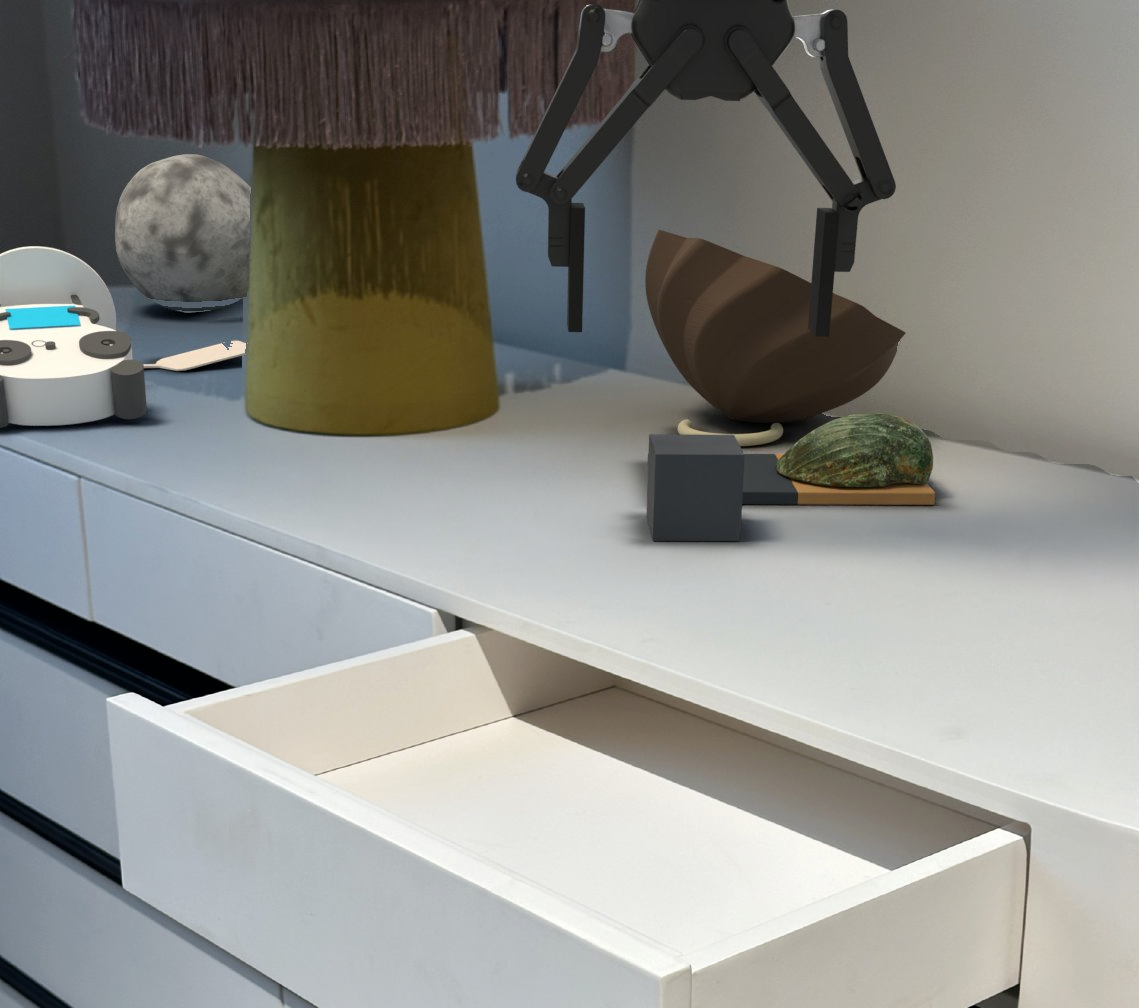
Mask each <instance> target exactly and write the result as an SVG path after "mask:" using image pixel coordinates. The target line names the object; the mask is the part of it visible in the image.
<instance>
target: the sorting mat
mask: <svg viewBox="0 0 1139 1008" xmlns="http://www.w3.org/2000/svg"><path fill="white" fill-rule="evenodd" d="M784 454H785V453H776V454H775V453H744V455H745V460H744V478H743V497H742V505H827V506H829V505H830V506H831V505H834V506H835V505H840V506H841V505H842V506H843V505H844V506H845V505H846V506H847V505H850V506H851V505H852V506H853V505H855V506H858V505H861V506H863V505H865V506H866V505H868V506H869V505H870V506H875V505H876V506H879V505H880V506H934V505H935V501H936V492H935V491H934V489H933V488H931V486H930V485H929V484H928V482H927V483H926V484H924V485H916V484H911V483H898V484H890V485H887V486H884V487H878V486H876V487H845V486H828V485H819V484H813V483H809V482H804V481H800V480H796V479H792V478H789V477H787V476H785V475H782V474H780V473H779V472H777V470H776V469H775V468H776V463H777V461H778V460H779V459H780V458H781V457H782V456H783V455H784Z"/></svg>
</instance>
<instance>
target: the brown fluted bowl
mask: <svg viewBox="0 0 1139 1008" xmlns="http://www.w3.org/2000/svg"><path fill="white" fill-rule="evenodd" d="M645 266H646V267H645V275H644V276H645V278H644V283H645V284H644V285H645V286H644V287H645V296H646V301H647V306H648V310H649V312H650V313H649V314H650V317H651V319H652V322H653V325H654V328H655V329H656V332H657V334H658V336H659V339H660V341H661V343H662V345H663V347H664V349H665V350H666V352H667V354H668V356H669V358H670V359H671V361H672V363H673V364H674V366H675V367H676V369H677V371H678V372H679V374H680V375H681V376H682V377H683V378H684V380H685V381H686V382H687V383H688V385H690V386H691V388H692V389H693V390H694V391H695V392H696V393H697V394H698V395H699V396H701V397H702V398H703V399H704V400H705V401H706V402H707V403H709V404H710V405H711V406H712V407H714V408H715V409H716V410H718V411H719V412H720V413H722V414H723V415H725V416H726V417H727V418H728V419H730V420H736V421H740V422H741V421H742V422H747V423H755V424H774V423H779V424H787V423H794V422H799V421H803V420H806V419H809V418H812V417H816V416H817V415H820V414H823V413H826V412H829V411H832V410H835V409H837V408H840V407H842V406H844V405H846V404H848V403H851V402H852V401H854V400H856V399H858V398H859V397H861V396H863V395H864V394H866V393H868V392H869V391H870V390H872V389H873V388H874V387H875V386H876V385H877V384H879V383H880V381H881V380H882V379H883V378H884V376H885V375H886V374H887V372H888V371H889V370H890V368H891V366H892V364H893V362H894V359H895V357H896V355H897V353H898V350H897V346H898V342H899V341H900V340H901V339H902V338H903V337H905V335H906V334H907V333H906V331H904V330H902V329H900V328H899V327H896V326H894V325H893V324H891V323H889V322H887V321H885V320H883V319H882V318H880V317H878V316H876V315H875V314H874V313H872V312H871V311H870V310H869V309H868V308H867V307H865V306H864V305H862V304H860V303H858V302H856V301H853V300H851V299H848V298H846V297H844V296H841V295H839V294H836V293H834V292H833V297H832V309H831V321H830V333H829V337H821V336H815V335H814V334H813V333H812V332H811V331H810V330H809V329H808V320H809V307H810V294H811V281H808V280H806V279H804V278H802V277H801V276H798V275H796V274H794V273H792V272H790V271H789V270H786V269H784V268H781V267H780V266H776V265H773V264H770V263H767V262H764V261H761V260H759V259H755V258H752V257H749V256H746V255H743V254H740V253H739V252H736V251H734V250H731V249H728V248H726V247H724V246H722V245H719V244H716V243H714V242H711V241H709V240H706V239H703V238H701V237H685V236H681V235H679V234H675V233H672V232H669V231H665V230H662V229H658V230H657V232H656V234H655V236H654V239H653V241H652V244H651V247H650V249H649V254H648V258H647V262H646V265H645ZM900 342H901V341H900Z"/></svg>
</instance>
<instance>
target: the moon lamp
mask: <svg viewBox="0 0 1139 1008" xmlns="http://www.w3.org/2000/svg"><path fill="white" fill-rule="evenodd" d="M251 188H252V187H251V186H250V185H249V184H248V183H247V182H246V181H245V180H244V179H243V178H242V177H241V176H240V175H238V174H237V173H235V172H234V171H233V170H232V169H230V168H229V167H228V166H226V165H225V164H223V163H221V162H219V161H217V160H215V159H212V158H209V157H207V156H204V155H201V154H193V153H192V154H190V153H185V154H179V155H173V156H170V157H166V158H163V159H159V160H157V161H154V162H151V163H149V164H147V165H145V166H144V167H142V168H141V169H140V170H138V172H136V173H135V175H133V177H132V178H131V179H130V181H128V183H127V184H126V186H125V188H124V189H123V191H122V192H121V195H120V197H119V200H118V204H117V207H116V211H115V218H114V220H115V221H114V226H115V227H114V239H115V240H114V241H115V242H114V243H115V251H116V254H117V259H118V261H119V264H120V266H121V268H122V269H123V271H124V273H125V274H126V276H127V277H128V279H129V281H130V282H131V284H132V285H133V286H134V287H135V288H136V290H137V291H139V293H141V294H142V295H143V296H144V297H145V298H147V299H148V298H150V299H156V300H164V301H181V302H182V301H183V302H202V301H222V300H228V299H235V298H243V297H245V298H247V297H248V296H247V289H248V257H249V244H250V194H251ZM150 299H149V300H150ZM243 299H244V298H243ZM232 305H233V304H231V305H225V306H215V307H202V308H182V307H168V306H161V305H159V306H160V307H162V308H164V309H167V308H168V310H170V309H172V310H171V311H173V310H182V311H204V310H214V311H216V310H215V309H218V310H220V309H219V308H221V309H225V308H228V307H230V306H232Z"/></svg>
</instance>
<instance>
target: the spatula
mask: <svg viewBox="0 0 1139 1008" xmlns="http://www.w3.org/2000/svg"><path fill="white" fill-rule="evenodd" d="M222 343H223V342H221V343H217V344H213V345H209V346H206V347H201V348H198V349H193V350H190V351H186V352H182V353H179V354H175V355H171V356H167V357H163V358H160V359H158V360H157V361H156V362H155V363H143V365H144V369H163V370H169V371H176V372H180V371H187V370H192V369H197V368H199V367H203V366H207V365H210V364H216V363H219V362H222V361H226V360H230V359H234V358H237V357H241V356H245V355H246V354H245V349H246V342H243V341H240V340H237V339H236V340H231V343H233V344H230V346H232V347H228V348H229V350H227V348H226V347H225V346H224V345H223V344H222Z"/></svg>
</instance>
